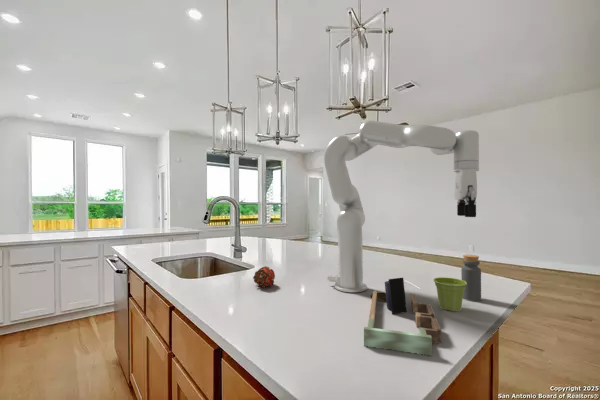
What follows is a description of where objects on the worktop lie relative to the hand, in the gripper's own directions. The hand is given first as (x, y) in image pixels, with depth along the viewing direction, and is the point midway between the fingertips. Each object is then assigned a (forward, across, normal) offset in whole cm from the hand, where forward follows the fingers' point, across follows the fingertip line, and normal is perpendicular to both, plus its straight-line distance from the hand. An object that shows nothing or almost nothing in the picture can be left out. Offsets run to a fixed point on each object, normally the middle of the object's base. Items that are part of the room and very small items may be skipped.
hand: (466, 216), depth 97 cm
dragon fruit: (+30, +4, -74) cm, 80 cm away
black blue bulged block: (+29, +16, -24) cm, 41 cm away
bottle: (+29, -2, +2) cm, 29 cm away
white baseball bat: (+30, -8, -13) cm, 33 cm away
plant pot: (+29, +10, -7) cm, 32 cm away
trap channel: (+29, +26, -23) cm, 45 cm away
